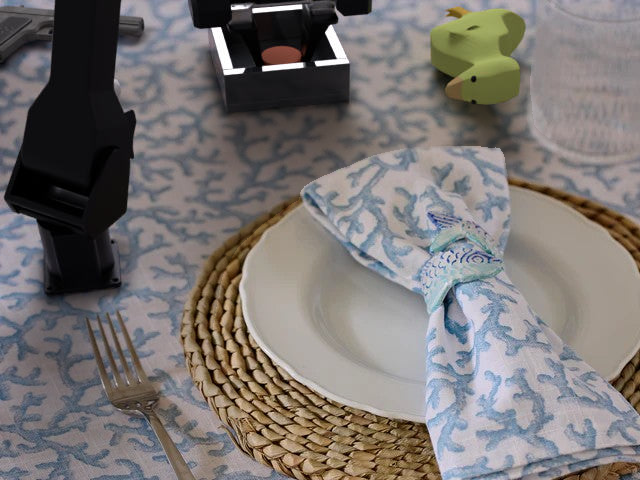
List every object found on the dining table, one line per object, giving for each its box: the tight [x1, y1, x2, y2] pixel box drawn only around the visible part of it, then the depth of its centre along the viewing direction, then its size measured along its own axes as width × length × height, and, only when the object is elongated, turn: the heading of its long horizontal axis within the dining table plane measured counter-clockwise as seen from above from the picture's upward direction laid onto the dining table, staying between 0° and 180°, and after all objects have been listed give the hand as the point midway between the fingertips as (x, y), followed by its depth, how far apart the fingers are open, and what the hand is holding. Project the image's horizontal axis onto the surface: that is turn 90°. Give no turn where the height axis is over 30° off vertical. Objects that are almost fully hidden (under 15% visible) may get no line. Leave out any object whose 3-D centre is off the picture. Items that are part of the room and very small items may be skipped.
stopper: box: [262, 46, 302, 66], centre depth 111 cm, size 4×4×3 cm
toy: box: [429, 6, 527, 105], centre depth 114 cm, size 6×17×20 cm
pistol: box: [0, 4, 145, 64], centre depth 119 cm, size 2×18×12 cm
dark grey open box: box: [207, 5, 351, 114], centre depth 114 cm, size 15×14×4 cm
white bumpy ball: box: [114, 77, 122, 100], centre depth 110 cm, size 3×3×3 cm
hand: (282, 72), depth 112 cm, fingers closed on stopper, 4 cm apart
